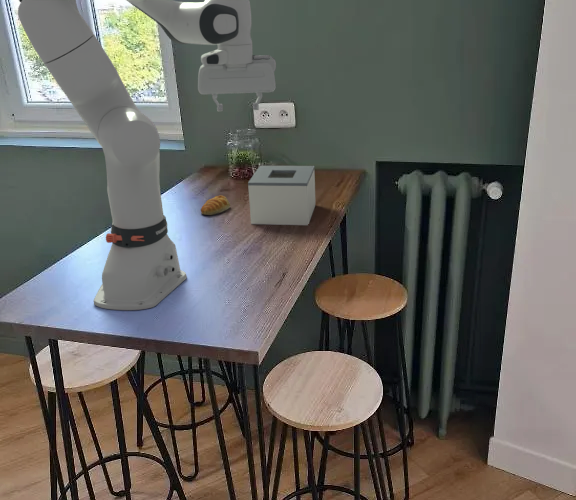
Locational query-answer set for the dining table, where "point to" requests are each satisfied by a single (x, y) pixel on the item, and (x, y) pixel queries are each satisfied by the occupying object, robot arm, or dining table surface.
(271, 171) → the hole box
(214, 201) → the pastry
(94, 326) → the dining table surface
